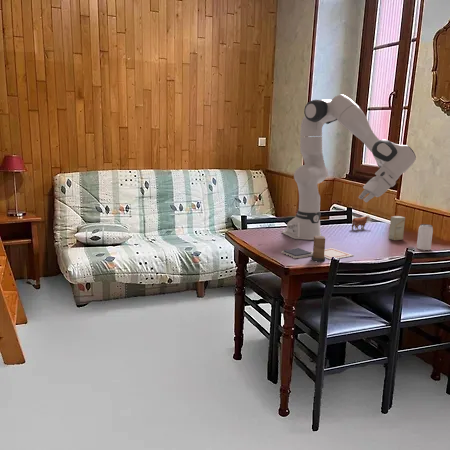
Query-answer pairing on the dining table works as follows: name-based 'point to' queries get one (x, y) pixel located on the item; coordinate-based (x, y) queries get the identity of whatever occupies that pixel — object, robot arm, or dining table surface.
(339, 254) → the marked board
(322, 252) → the stamp
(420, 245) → the can
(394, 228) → the skincare box
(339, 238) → the dining table surface
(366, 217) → the bull figurine
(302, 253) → the ink pad
